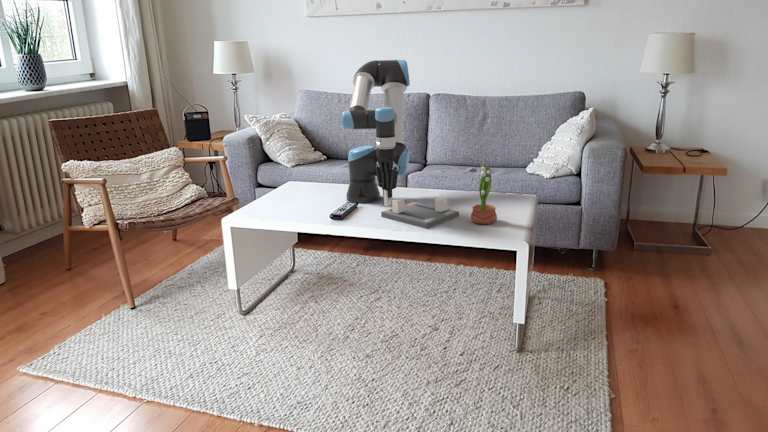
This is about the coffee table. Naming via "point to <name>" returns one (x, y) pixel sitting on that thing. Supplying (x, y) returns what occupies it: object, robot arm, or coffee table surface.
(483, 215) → the potted flower
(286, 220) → the coffee table surface
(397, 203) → the switch knob
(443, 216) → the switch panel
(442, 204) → the switch knob
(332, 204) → the coffee table surface
